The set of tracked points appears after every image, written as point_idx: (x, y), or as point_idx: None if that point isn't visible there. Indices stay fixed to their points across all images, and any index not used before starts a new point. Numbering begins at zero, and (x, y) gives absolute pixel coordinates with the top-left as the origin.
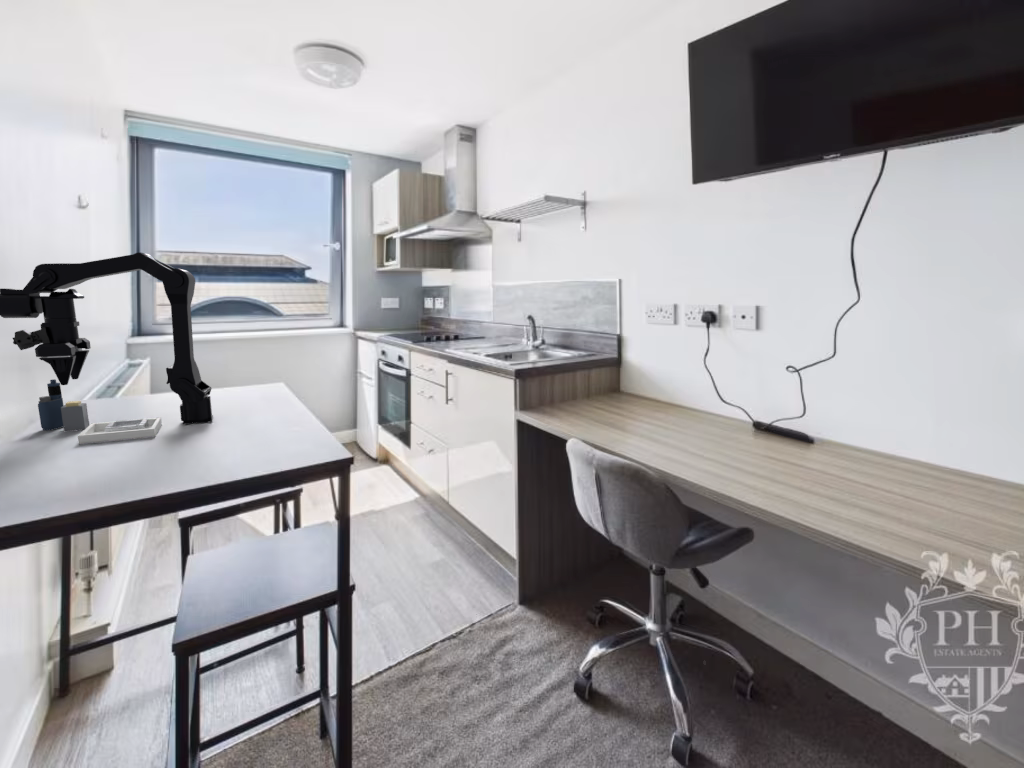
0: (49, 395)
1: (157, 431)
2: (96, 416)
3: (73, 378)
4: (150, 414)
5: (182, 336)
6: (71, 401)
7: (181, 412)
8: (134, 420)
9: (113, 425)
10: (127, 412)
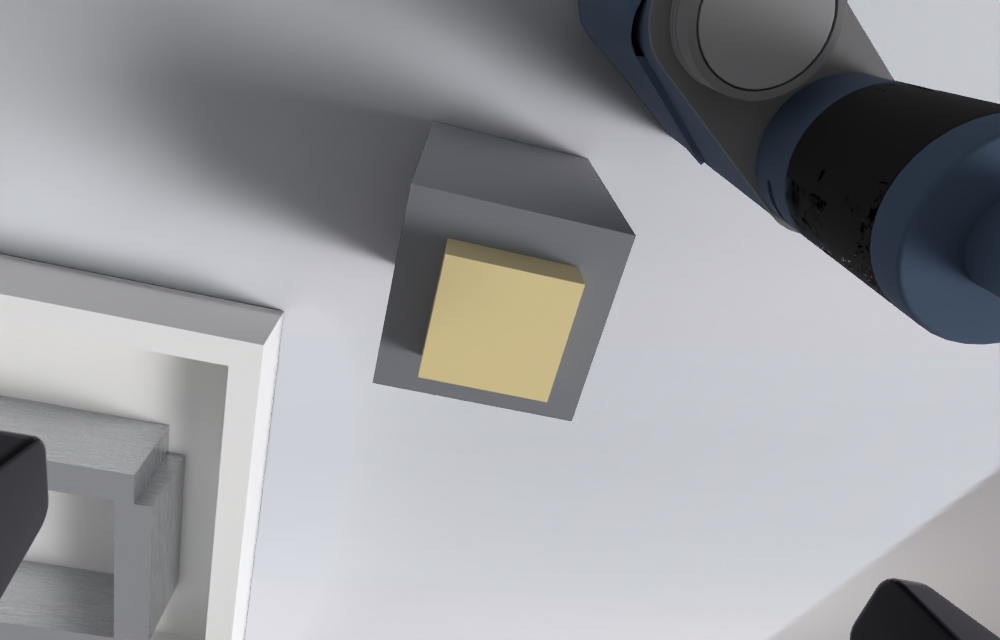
0: (853, 91)
1: None
2: (926, 355)
3: (889, 602)
4: (675, 630)
5: None
6: (567, 315)
7: None
8: (116, 596)
9: None
10: (889, 532)
